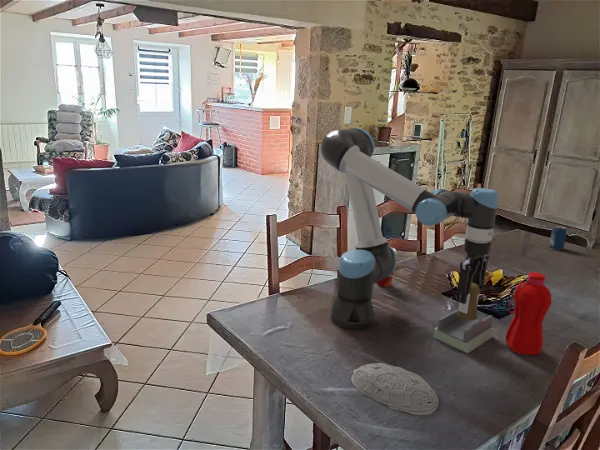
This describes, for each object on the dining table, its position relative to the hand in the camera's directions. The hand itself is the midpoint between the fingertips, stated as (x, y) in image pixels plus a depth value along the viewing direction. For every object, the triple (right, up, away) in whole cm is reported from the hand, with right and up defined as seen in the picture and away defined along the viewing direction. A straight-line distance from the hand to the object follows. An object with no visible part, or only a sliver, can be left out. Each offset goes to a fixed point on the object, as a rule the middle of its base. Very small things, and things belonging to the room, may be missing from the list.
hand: (467, 309), depth 144 cm
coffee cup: (-19, +2, +42) cm, 46 cm away
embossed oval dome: (-29, -17, -24) cm, 41 cm away
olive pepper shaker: (0, -2, +1) cm, 2 cm away
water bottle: (+15, -12, -3) cm, 19 cm away
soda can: (+82, +14, +96) cm, 128 cm away
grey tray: (0, -9, +3) cm, 10 cm away
